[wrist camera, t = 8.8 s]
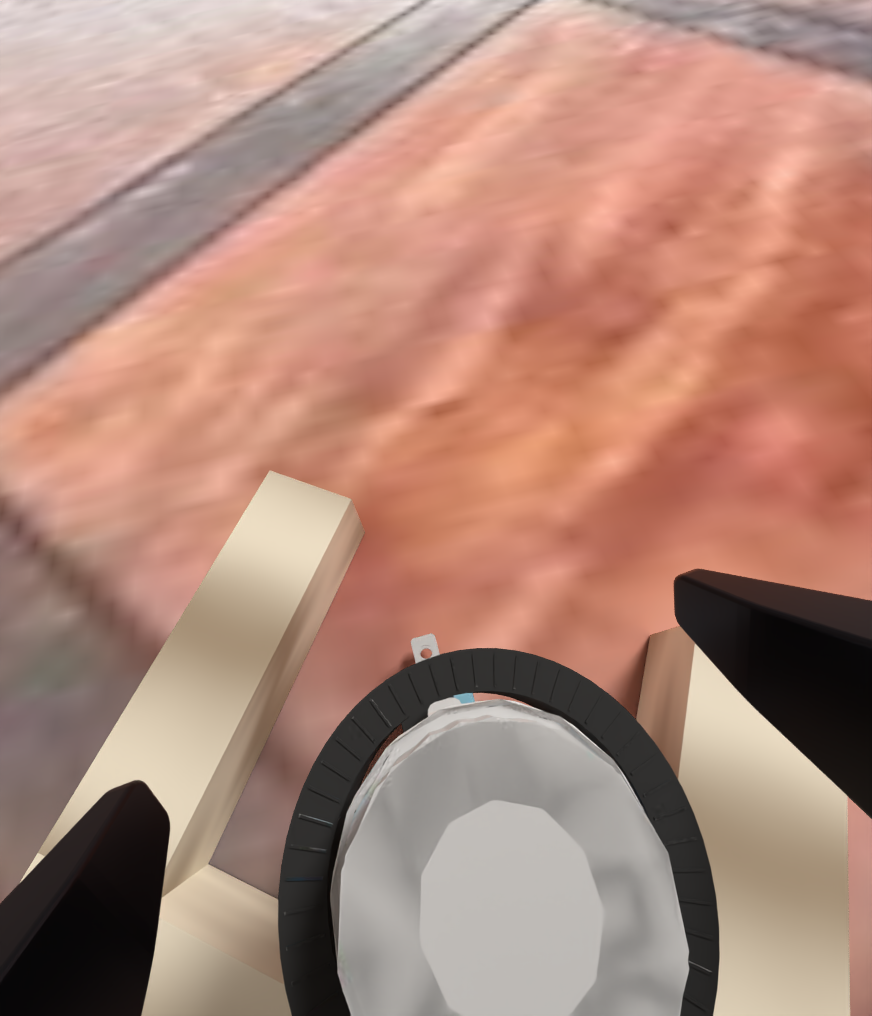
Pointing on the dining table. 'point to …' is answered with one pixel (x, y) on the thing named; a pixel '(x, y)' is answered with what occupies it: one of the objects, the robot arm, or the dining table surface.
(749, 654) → the robot arm
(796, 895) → the notched board
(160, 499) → the dining table surface
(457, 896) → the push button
